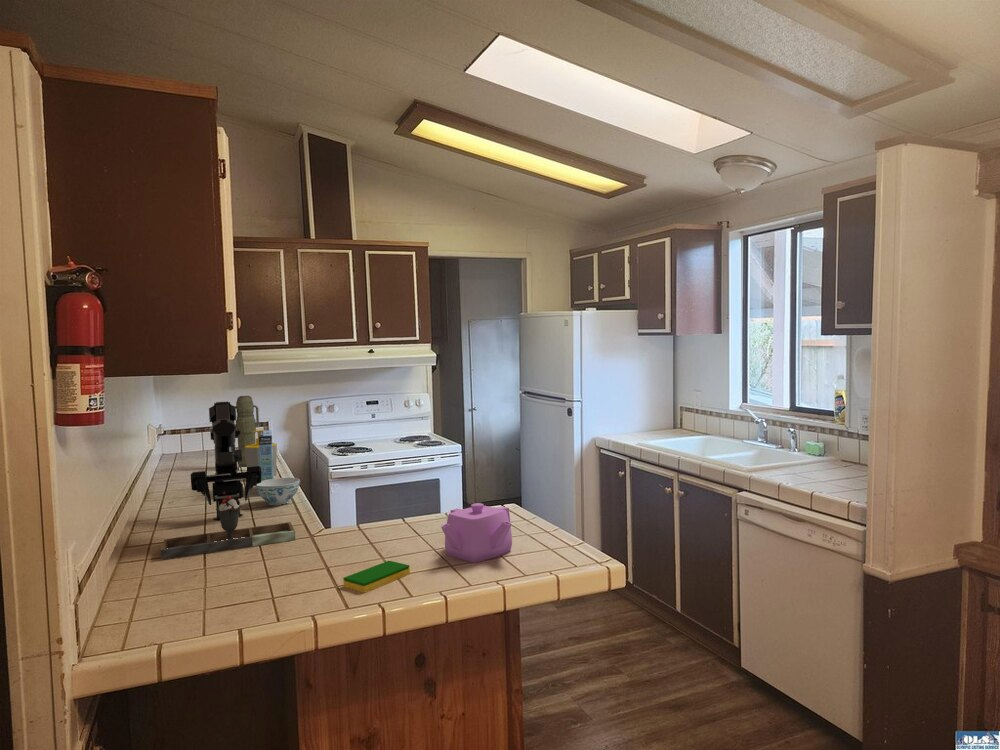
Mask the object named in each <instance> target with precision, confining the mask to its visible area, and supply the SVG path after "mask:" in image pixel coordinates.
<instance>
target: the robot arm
mask: <svg viewBox="0 0 1000 750" xmlns="http://www.w3.org/2000/svg"><path fill="white" fill-rule="evenodd" d="M235 406H236V405H233V404H231V402H230V401H216V402H213V405H212V406H211V407H209V408H208V416H209V423H211V428H210V432H209V434H210V435H209V436H210V441H213V444H214V460H215V462H214V466H215V467H214V469H215V473H213V474H207V471H206V470H200V471H192V472H191V473H190V487H191V490H192V491H194V492H195V491H196V492H197V493H200V494H202V496H204V498H205V499H206V501H207V503H208V504H209V506H211V505H212V502H213V503H216V504H215V505H216V506H215V507H216V508H215V510H216V509H217V508H219V506H220V505H221V504H222V500H223V499H226V498H227V496H230V497H231V498H234V499H235V498H236V499H238V500H239V501H240V500H242V498H244V501H245V502H246V501H247V500H248V497H249V496H250V493H251V491H252V489H253V488H254V487H256V485H257V484H259V483H261V473H262V472H261V467H260V466H259V465H258V466H248V467H247V470H246V471H240V472H238V462H241V461H242V449H240V450H238V449H236V439H238V435H240V430H239V429H238V428H237V427H235V426H236V420H237V409H236V407H235ZM242 480H245V486H244V484H243V483H242ZM209 483H212V484H211V485H212V496H211V492H210V487H209ZM244 487H245V488H244ZM223 492H225V493H224V494H223ZM225 494H226V495H227V496H226V495H225ZM212 500H213V501H212ZM239 506H241V504H239ZM242 516H244V514H243V513H241V508H240V509H239V515H238V518H239V517H242ZM212 520H215V521H220V517H219V512H218V511H216V517H213V519H212Z"/></svg>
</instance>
